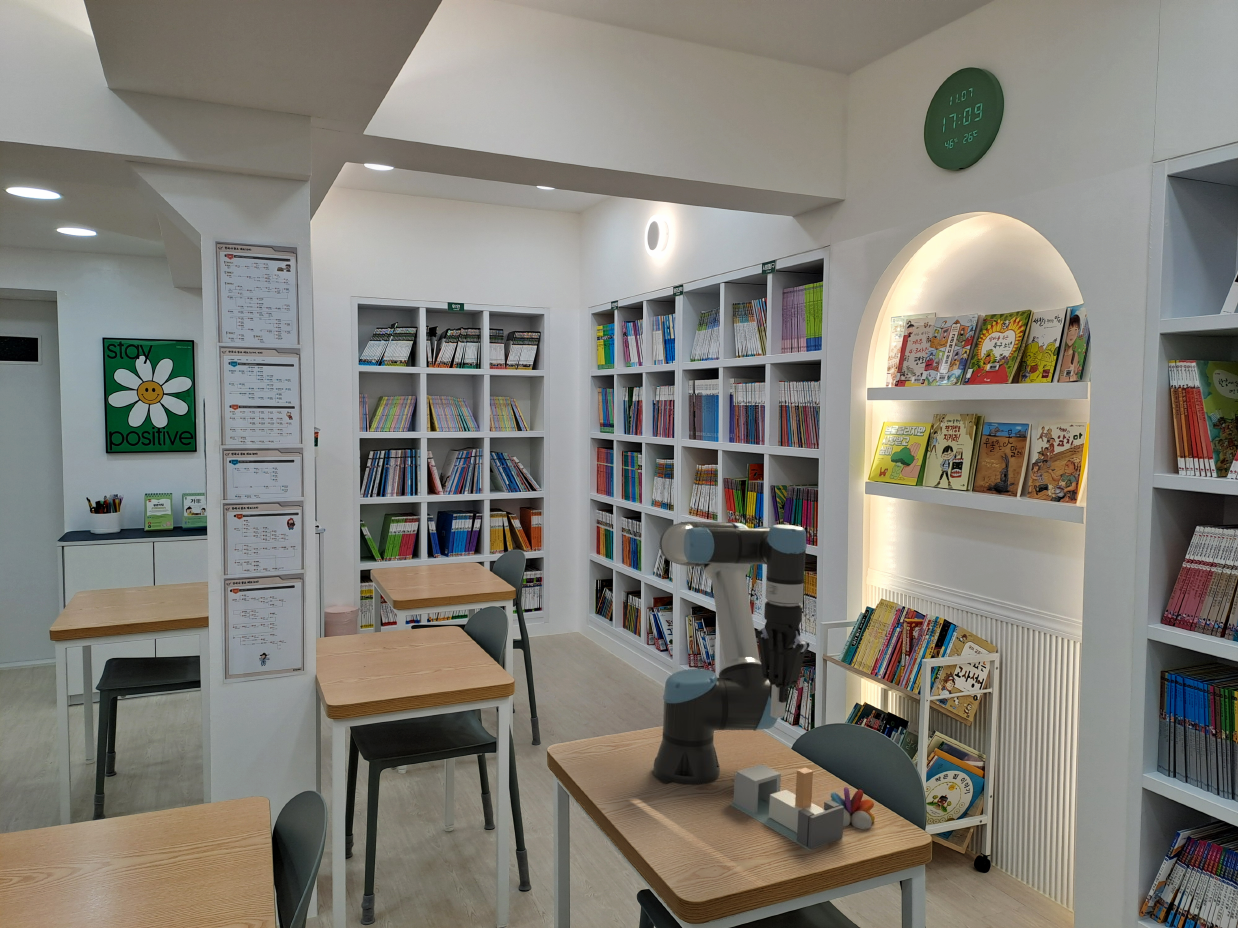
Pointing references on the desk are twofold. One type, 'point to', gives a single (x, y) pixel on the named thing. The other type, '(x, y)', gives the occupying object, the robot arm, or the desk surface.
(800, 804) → the block with wooden peg
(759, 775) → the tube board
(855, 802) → the rainbow disc toy
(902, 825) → the desk surface
